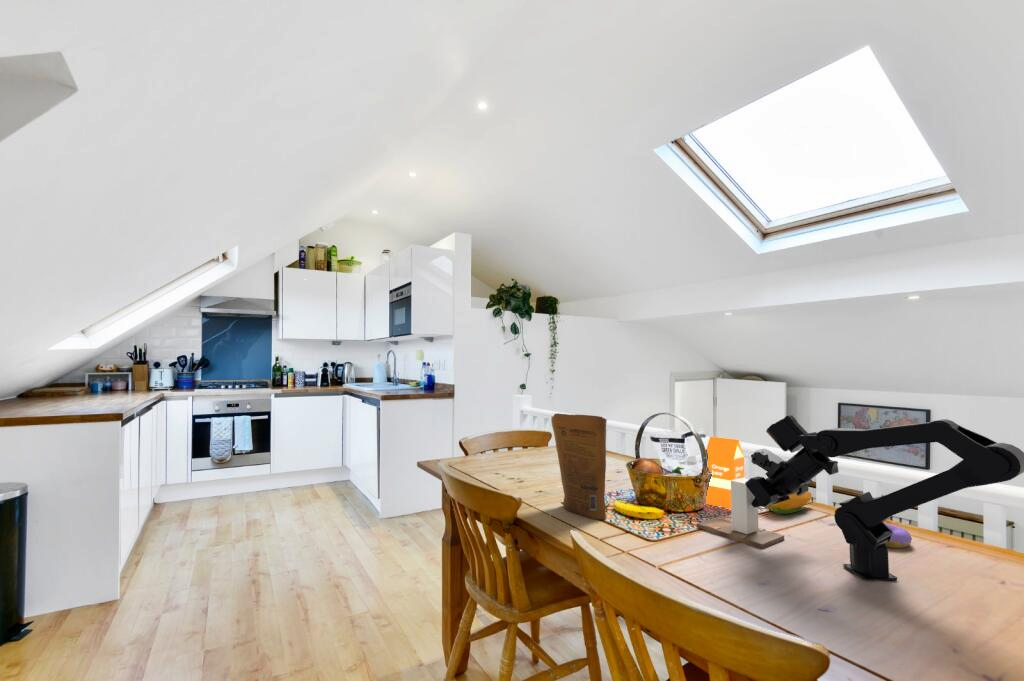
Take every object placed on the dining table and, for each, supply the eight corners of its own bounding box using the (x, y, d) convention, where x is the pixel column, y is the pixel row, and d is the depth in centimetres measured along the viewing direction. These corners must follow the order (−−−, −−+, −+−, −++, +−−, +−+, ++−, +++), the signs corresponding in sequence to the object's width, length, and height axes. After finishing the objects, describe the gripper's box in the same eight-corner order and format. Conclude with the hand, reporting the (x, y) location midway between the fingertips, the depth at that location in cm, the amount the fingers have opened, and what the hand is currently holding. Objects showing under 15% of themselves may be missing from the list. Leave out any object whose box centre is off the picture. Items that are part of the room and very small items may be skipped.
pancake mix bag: (599, 524, 125) (598, 417, 126) (549, 507, 140) (549, 411, 141) (615, 519, 129) (614, 415, 130) (565, 503, 144) (565, 410, 145)
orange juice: (734, 511, 136) (733, 441, 137) (704, 504, 142) (703, 437, 143) (745, 506, 141) (744, 438, 142) (716, 499, 148) (715, 435, 149)
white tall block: (758, 530, 117) (757, 480, 117) (747, 534, 114) (746, 483, 115) (742, 525, 120) (741, 477, 121) (731, 529, 117) (730, 480, 118)
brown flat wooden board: (784, 539, 114) (784, 534, 114) (762, 548, 109) (762, 543, 109) (719, 520, 128) (719, 515, 128) (696, 527, 123) (696, 522, 123)
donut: (877, 531, 119) (880, 513, 119) (918, 552, 111) (923, 533, 110) (849, 536, 116) (853, 517, 115) (890, 558, 107) (894, 538, 107)
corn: (756, 485, 135) (796, 477, 145) (755, 511, 135) (795, 501, 145) (782, 493, 129) (822, 484, 139) (780, 521, 129) (821, 510, 139)
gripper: (793, 436, 117) (750, 472, 126) (753, 443, 107) (709, 482, 115) (830, 474, 110) (782, 510, 119) (790, 486, 100) (740, 524, 108)
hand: (753, 505), depth 116 cm, fingers closed, pressing on white tall block
